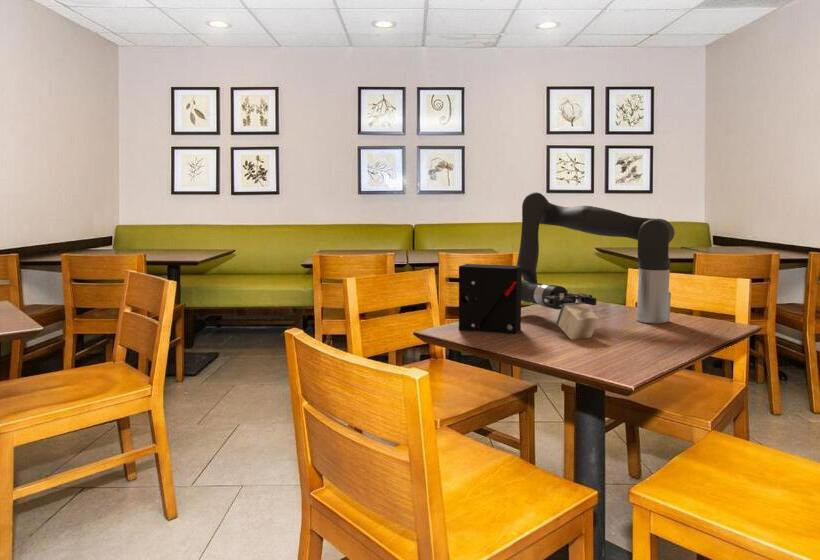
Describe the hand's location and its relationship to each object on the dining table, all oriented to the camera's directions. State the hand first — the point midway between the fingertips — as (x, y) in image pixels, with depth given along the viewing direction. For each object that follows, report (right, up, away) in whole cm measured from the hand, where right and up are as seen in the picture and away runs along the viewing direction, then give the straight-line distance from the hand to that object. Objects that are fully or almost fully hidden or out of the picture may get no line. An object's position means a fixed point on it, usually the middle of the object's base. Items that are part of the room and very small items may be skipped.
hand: (583, 302), depth 164 cm
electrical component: (-27, -9, +7) cm, 29 cm away
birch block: (-4, -3, 0) cm, 5 cm away
